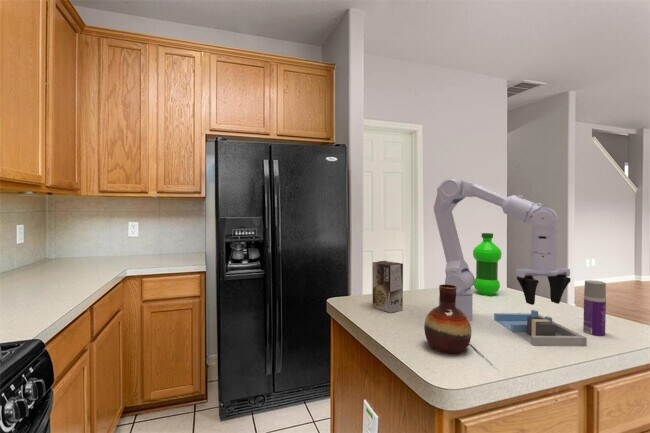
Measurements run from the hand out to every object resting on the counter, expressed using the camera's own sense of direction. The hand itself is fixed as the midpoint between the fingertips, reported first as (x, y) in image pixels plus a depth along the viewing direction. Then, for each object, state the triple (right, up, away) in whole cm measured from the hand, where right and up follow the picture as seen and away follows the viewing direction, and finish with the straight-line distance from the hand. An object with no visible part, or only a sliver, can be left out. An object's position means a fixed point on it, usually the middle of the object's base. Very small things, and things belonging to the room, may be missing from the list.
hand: (542, 303), depth 90 cm
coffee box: (-37, -9, +27) cm, 46 cm away
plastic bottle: (+8, -9, +49) cm, 50 cm away
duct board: (0, -9, +3) cm, 10 cm away
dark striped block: (-2, -9, -2) cm, 9 cm away
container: (+15, -10, +2) cm, 18 cm away
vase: (-28, -10, -6) cm, 30 cm away
